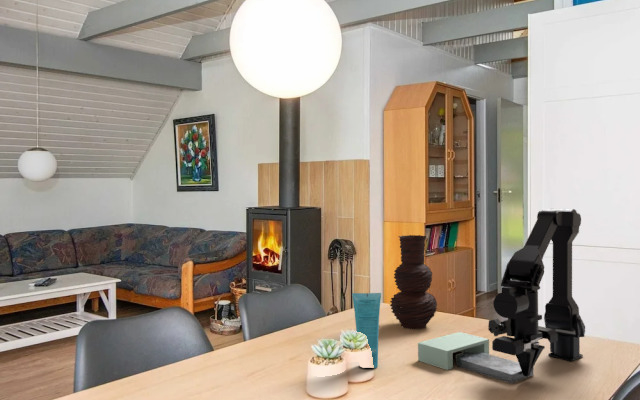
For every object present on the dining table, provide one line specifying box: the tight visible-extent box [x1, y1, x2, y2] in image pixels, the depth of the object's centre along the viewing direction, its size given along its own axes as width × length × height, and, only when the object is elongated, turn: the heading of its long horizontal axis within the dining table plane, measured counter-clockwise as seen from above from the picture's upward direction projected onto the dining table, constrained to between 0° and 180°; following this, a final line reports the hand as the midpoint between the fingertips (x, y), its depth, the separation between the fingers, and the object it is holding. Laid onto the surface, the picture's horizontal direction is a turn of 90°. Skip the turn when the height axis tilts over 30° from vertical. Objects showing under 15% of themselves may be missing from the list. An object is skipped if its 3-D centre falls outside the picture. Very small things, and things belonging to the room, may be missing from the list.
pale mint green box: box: [417, 331, 490, 371], centre depth 151 cm, size 10×17×5 cm, turn 127°
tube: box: [351, 292, 382, 369], centre depth 146 cm, size 7×5×19 cm, turn 96°
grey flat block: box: [455, 351, 534, 385], centre depth 142 cm, size 18×9×2 cm, turn 37°
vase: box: [389, 234, 438, 330], centre depth 186 cm, size 15×15×30 cm
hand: (526, 375), depth 134 cm, fingers closed
